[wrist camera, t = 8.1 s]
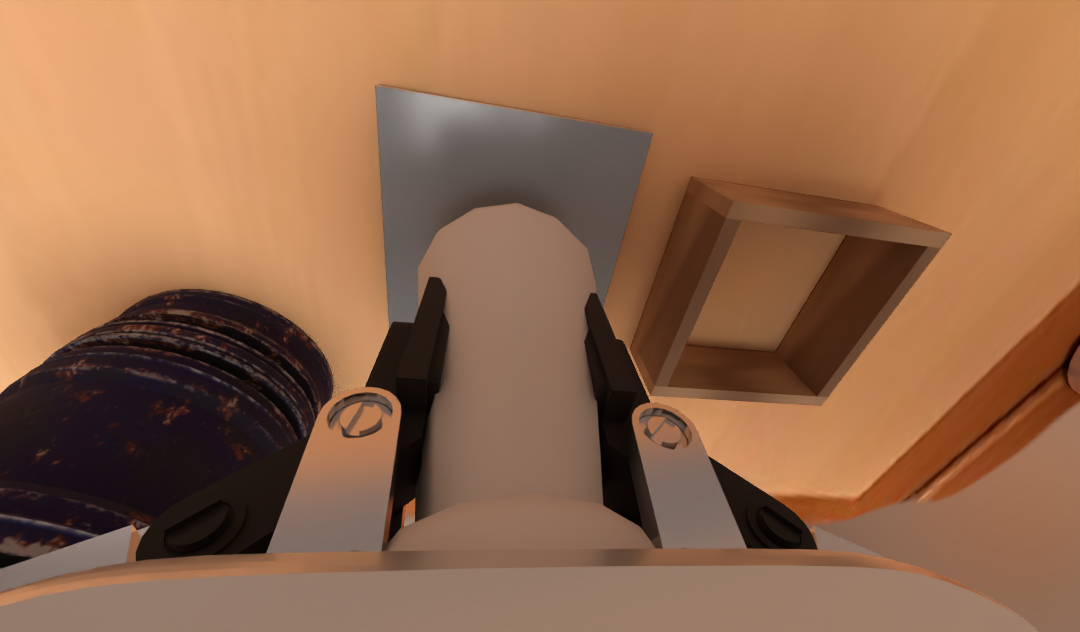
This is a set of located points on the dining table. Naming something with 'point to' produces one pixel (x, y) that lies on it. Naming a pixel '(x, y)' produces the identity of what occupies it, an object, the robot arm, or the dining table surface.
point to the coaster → (497, 177)
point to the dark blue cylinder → (150, 416)
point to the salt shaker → (512, 395)
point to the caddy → (825, 320)
